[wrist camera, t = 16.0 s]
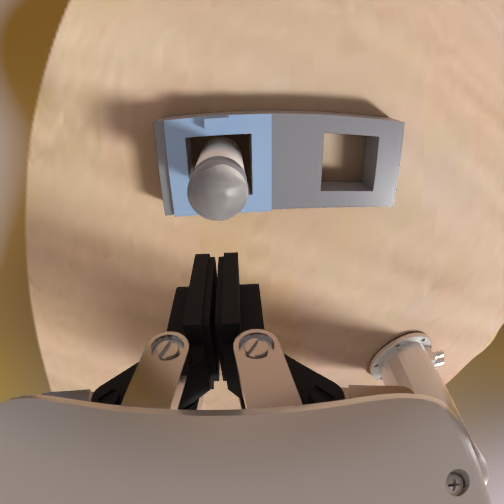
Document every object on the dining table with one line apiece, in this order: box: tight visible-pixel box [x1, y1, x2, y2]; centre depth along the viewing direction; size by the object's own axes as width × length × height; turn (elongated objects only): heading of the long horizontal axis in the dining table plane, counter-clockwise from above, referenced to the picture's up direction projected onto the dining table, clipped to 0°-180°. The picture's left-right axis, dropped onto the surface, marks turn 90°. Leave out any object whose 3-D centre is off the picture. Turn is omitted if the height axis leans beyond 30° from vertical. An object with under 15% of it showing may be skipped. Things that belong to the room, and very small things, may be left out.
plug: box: [187, 137, 249, 221], centre depth 24 cm, size 4×4×10 cm
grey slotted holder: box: [154, 110, 404, 217], centre depth 27 cm, size 23×9×4 cm, turn 91°
